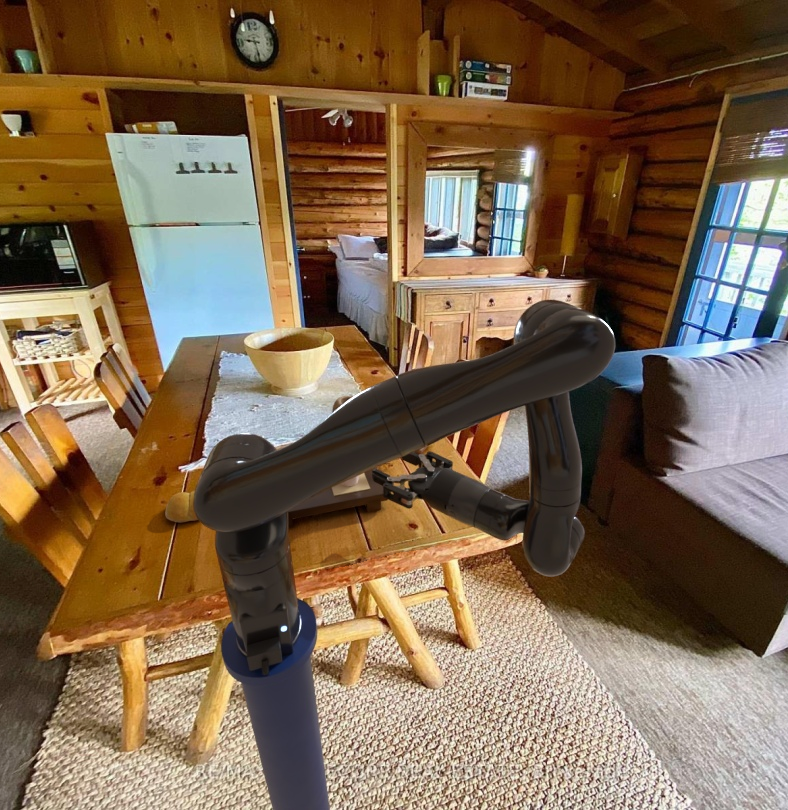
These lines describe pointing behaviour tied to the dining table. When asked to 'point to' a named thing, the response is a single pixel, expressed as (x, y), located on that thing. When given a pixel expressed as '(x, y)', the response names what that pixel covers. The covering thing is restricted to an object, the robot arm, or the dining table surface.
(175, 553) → the dining table surface
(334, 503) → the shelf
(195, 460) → the dining table surface
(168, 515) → the bread roll
